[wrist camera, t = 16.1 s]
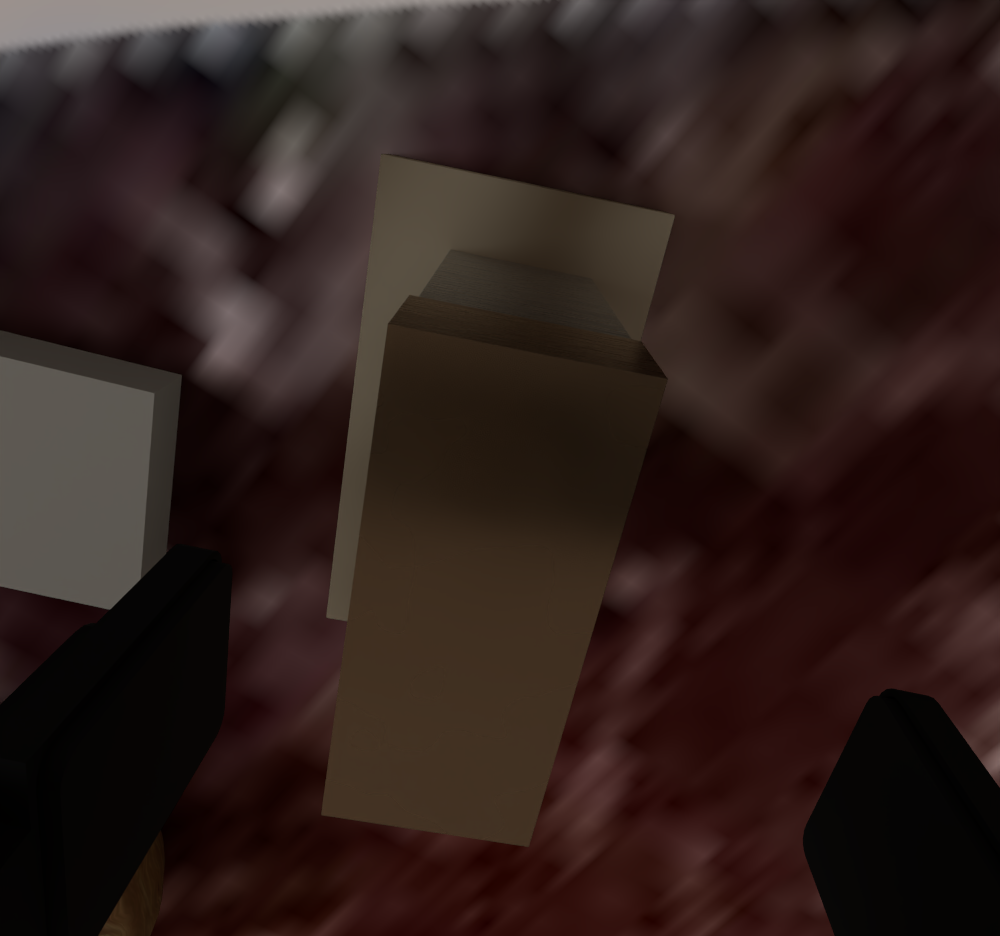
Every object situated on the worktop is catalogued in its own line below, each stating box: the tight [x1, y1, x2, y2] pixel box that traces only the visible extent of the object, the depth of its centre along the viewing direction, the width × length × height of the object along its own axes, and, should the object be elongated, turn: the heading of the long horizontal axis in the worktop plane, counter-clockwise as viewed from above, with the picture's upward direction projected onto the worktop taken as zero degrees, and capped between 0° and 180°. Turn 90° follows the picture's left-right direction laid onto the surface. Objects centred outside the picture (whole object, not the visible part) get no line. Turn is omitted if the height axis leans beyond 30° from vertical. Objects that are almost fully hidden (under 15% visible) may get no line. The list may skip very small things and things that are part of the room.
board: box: [326, 154, 675, 621], centre depth 20 cm, size 7×13×1 cm, turn 169°
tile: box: [0, 330, 182, 609], centre depth 21 cm, size 2×7×7 cm
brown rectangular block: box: [321, 250, 668, 847], centre depth 15 cm, size 4×9×9 cm, turn 169°
